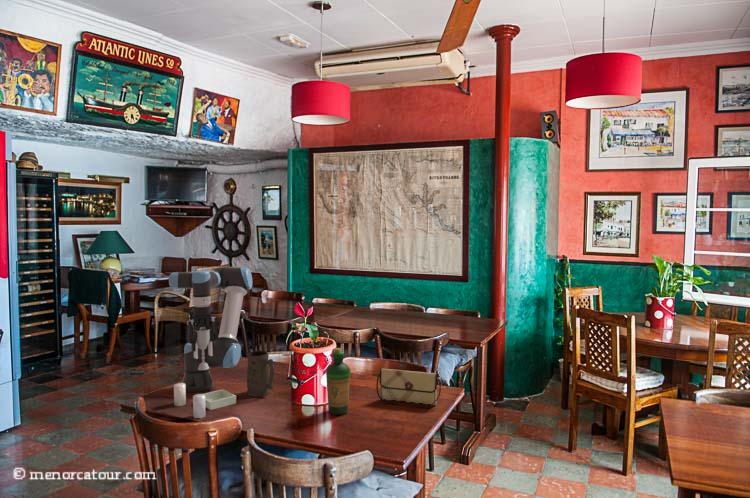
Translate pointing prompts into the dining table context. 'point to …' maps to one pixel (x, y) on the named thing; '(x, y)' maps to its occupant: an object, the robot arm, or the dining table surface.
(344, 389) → the bottle
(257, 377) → the beer stein
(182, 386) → the white upright cylinder
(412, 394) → the clutch purse
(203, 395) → the pillar candle
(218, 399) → the tray
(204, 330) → the chalice
